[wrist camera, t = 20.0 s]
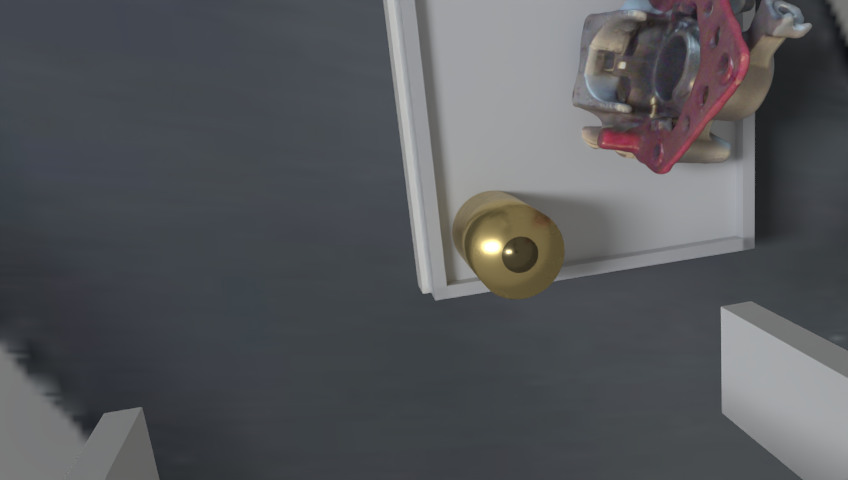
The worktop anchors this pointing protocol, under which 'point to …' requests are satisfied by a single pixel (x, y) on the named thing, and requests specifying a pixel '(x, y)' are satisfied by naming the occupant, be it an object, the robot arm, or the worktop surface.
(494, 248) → the brass spacer
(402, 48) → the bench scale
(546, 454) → the worktop surface
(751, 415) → the robot arm
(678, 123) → the brake caliper
